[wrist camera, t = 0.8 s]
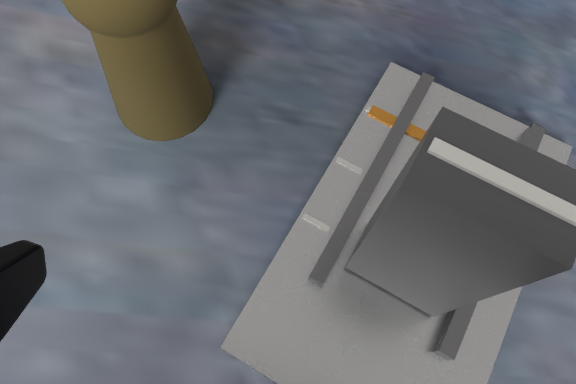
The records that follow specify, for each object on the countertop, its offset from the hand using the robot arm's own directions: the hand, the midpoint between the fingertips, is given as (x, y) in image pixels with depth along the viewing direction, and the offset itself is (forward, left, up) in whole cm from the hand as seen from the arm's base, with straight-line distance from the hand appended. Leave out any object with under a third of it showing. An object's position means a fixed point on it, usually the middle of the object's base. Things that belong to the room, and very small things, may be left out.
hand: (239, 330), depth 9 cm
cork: (+16, +1, -15) cm, 22 cm away
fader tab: (+2, -8, -13) cm, 16 cm away
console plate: (+3, -10, -14) cm, 18 cm away
